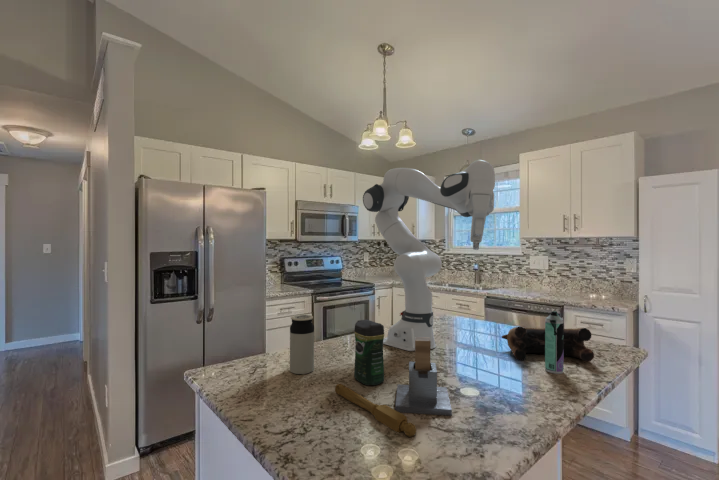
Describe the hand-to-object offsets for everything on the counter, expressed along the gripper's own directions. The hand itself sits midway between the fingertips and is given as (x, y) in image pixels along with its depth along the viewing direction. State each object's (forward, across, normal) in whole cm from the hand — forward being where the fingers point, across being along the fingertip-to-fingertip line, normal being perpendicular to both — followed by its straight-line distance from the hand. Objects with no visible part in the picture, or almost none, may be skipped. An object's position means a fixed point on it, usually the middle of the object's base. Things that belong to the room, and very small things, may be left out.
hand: (476, 242), depth 112 cm
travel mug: (+45, -17, -52) cm, 71 cm away
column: (+46, -4, -11) cm, 47 cm away
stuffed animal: (+19, -54, +30) cm, 65 cm away
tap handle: (+53, +3, -23) cm, 58 cm away
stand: (+47, -5, -11) cm, 49 cm away
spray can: (+28, -35, +29) cm, 53 cm away
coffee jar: (+44, -14, -29) cm, 55 cm away
